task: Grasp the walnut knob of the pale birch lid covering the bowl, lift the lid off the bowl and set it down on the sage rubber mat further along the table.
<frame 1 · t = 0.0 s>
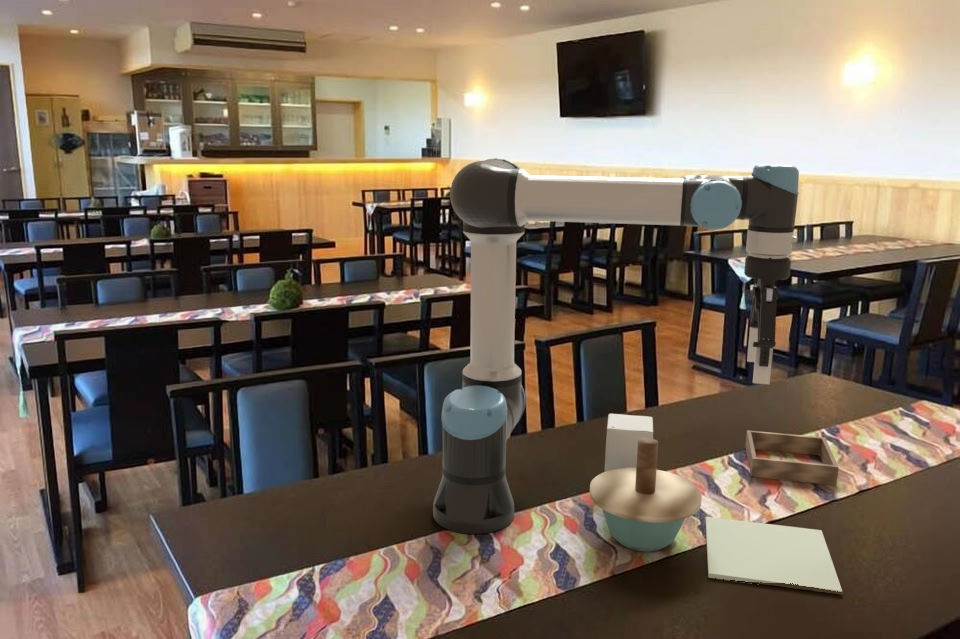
hand: (757, 372, 143), 28 cm above the table, fingers open, 13 cm apart
lid: (644, 496, 139), point 8 cm above the table, touching bowl
mat: (767, 554, 136), on the table
supplement box: (626, 493, 159), on the table
bowl: (642, 540, 141), on the table, touching lid
holder corral: (788, 464, 172), on the table
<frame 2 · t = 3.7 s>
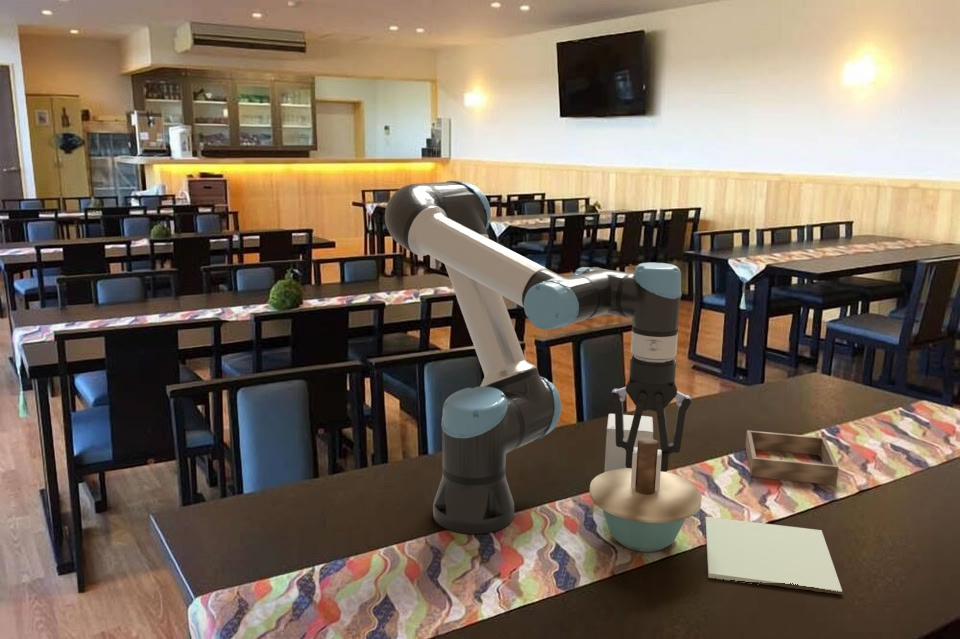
hand: (645, 486, 138), 10 cm above the table, fingers closed on lid, 3 cm apart
lid: (644, 496, 139), point 8 cm above the table, touching bowl, gripper
everything else where it was.
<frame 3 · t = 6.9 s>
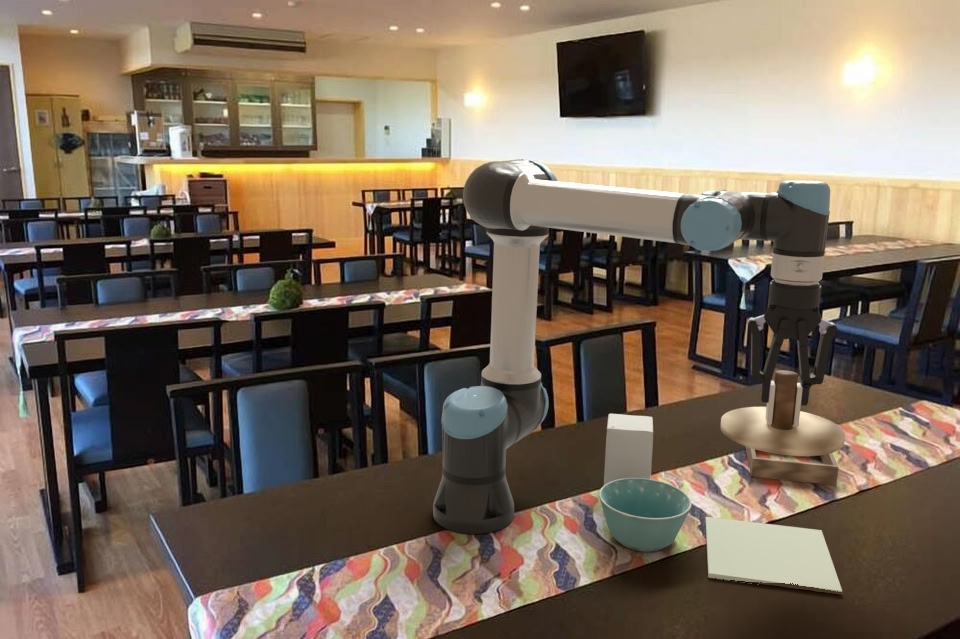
hand: (781, 421, 130), 24 cm above the table, fingers closed on lid, 3 cm apart
lid: (780, 433, 130), point 22 cm above the table, touching gripper
bowl: (642, 540, 141), on the table
everything else where it was.
when the fingers open (5 cm above the table, at t = 10.2 s): lid drops 2 cm, resting on mat.
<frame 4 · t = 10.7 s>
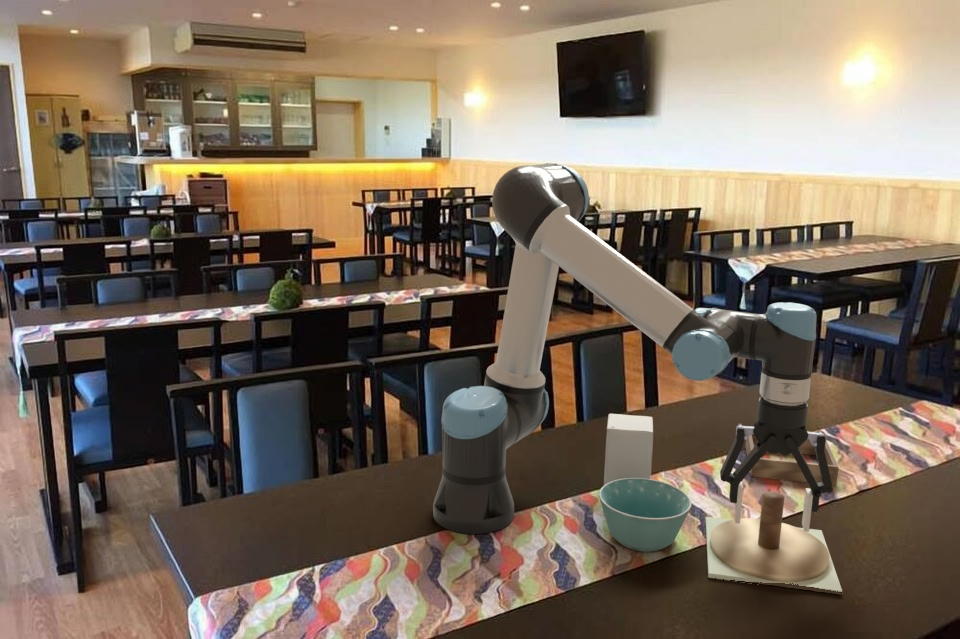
hand: (770, 523, 134), 6 cm above the table, fingers open, 10 cm apart
lid: (767, 551, 135), point 1 cm above the table, touching mat
everything else where it was.
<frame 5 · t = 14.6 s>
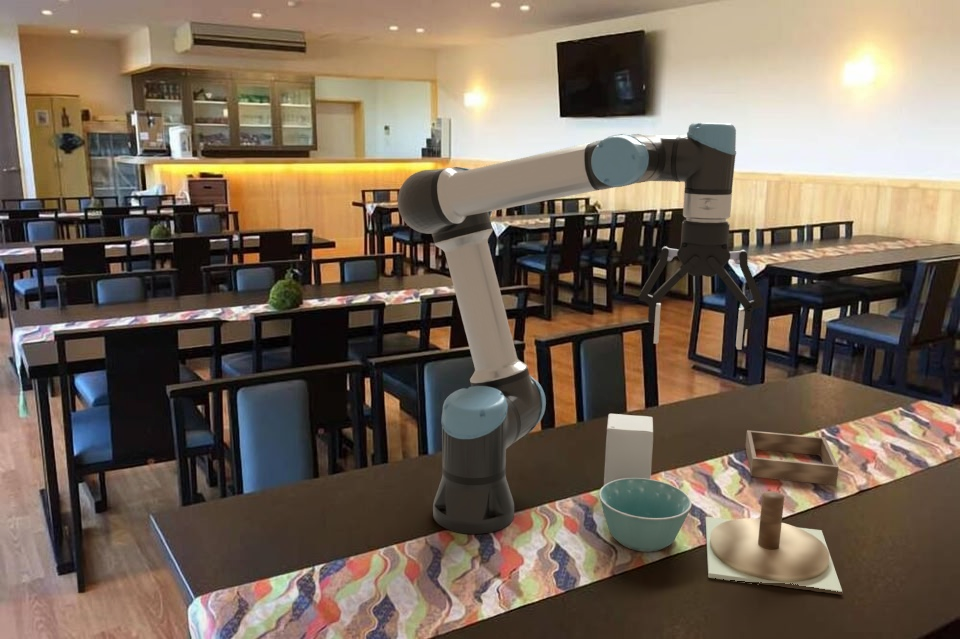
hand: (696, 344, 136), 35 cm above the table, fingers open, 13 cm apart
nothing on the table moved.
at the end: lid inside the target area on the mat (0.2 cm from its centre), point 0.8 cm above the mat's base; lid tilted 0°; bowl moved 0.3 cm from its start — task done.
